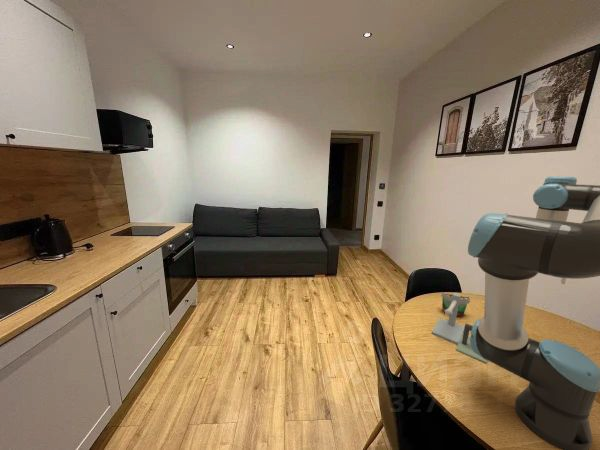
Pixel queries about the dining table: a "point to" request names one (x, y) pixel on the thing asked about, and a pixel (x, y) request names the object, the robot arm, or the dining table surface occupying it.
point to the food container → (461, 307)
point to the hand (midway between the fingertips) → (535, 276)
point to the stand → (450, 323)
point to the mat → (468, 350)
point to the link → (466, 333)
